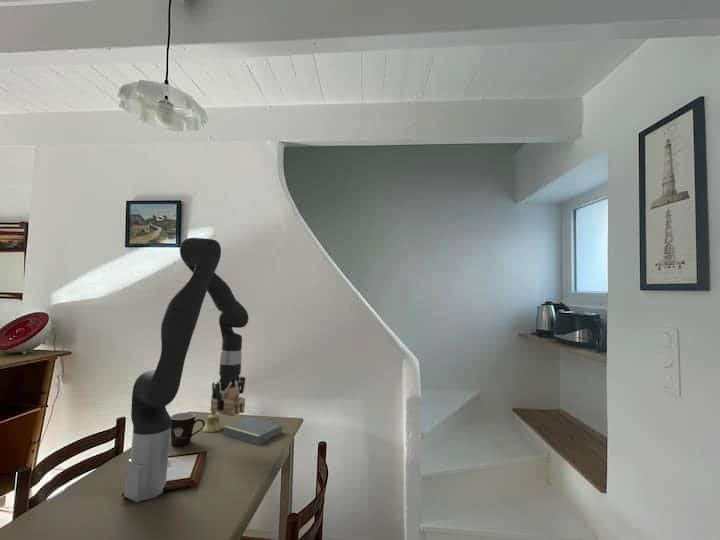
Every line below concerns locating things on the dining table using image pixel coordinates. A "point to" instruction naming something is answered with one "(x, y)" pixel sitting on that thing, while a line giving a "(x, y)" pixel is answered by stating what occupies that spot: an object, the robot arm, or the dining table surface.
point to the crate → (231, 393)
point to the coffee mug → (183, 428)
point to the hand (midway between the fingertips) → (227, 408)
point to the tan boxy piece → (229, 406)
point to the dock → (252, 430)
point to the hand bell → (212, 423)
